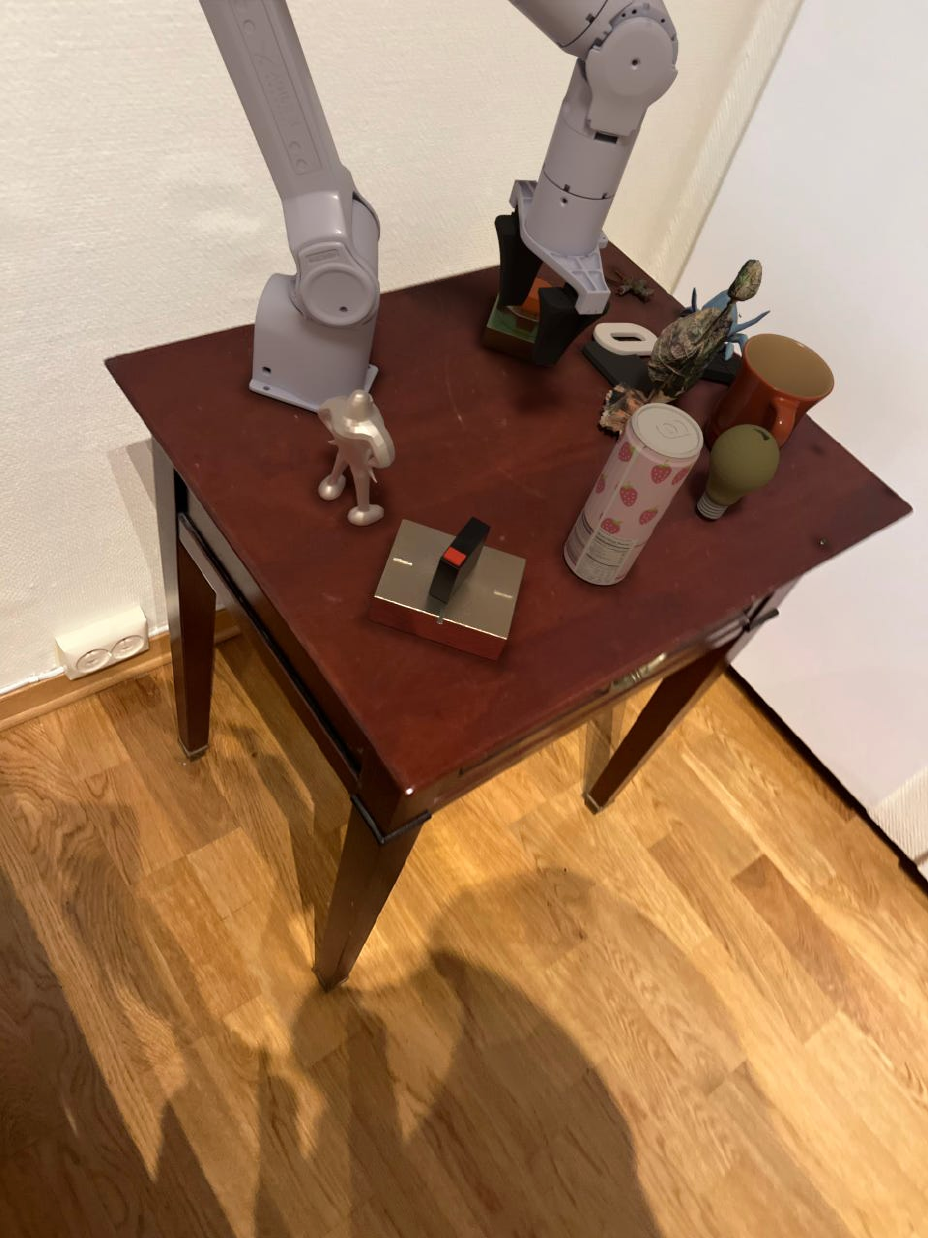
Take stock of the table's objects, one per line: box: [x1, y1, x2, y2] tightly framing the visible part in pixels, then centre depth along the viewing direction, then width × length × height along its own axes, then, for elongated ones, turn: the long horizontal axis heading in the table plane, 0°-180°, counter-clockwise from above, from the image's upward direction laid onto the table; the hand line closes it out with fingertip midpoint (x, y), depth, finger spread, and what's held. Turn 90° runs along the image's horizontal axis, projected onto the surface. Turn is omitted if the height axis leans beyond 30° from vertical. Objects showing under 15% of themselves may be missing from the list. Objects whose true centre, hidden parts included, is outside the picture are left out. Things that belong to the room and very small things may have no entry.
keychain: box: [581, 337, 675, 405], centre depth 88 cm, size 5×1×10 cm
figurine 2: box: [676, 286, 771, 385], centre depth 92 cm, size 10×12×8 cm
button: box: [520, 277, 553, 314], centre depth 85 cm, size 4×4×2 cm
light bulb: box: [696, 424, 780, 520], centre depth 76 cm, size 6×6×10 cm
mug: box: [704, 333, 835, 453], centre depth 81 cm, size 12×9×10 cm
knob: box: [429, 516, 492, 603], centre depth 63 cm, size 5×2×4 cm, turn 152°
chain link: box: [592, 322, 659, 356], centre depth 91 cm, size 8×1×5 cm
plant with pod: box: [598, 258, 763, 436], centre depth 77 cm, size 8×11×20 cm
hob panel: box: [368, 518, 527, 662], centre depth 66 cm, size 10×9×3 cm
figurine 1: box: [317, 390, 396, 527], centre depth 65 cm, size 7×4×12 cm, turn 49°
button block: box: [480, 292, 550, 368], centre depth 87 cm, size 7×8×4 cm
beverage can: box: [563, 403, 704, 586], centre depth 67 cm, size 6×6×15 cm
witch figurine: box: [604, 268, 655, 302], centre depth 99 cm, size 5×12×2 cm, turn 45°
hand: (526, 332), depth 74 cm, fingers open, 7 cm apart
